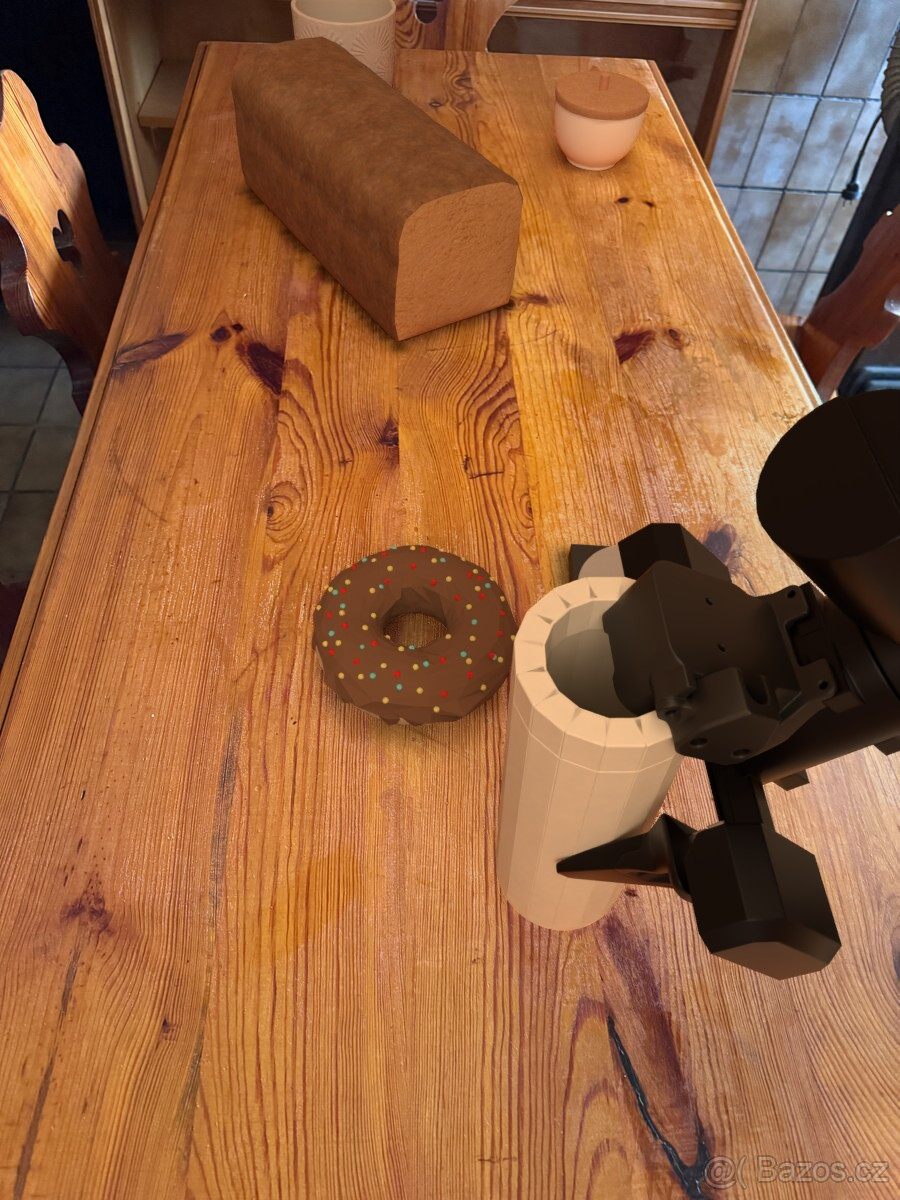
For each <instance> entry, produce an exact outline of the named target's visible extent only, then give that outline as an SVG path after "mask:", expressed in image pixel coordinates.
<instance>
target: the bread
mask: <svg viewBox="0 0 900 1200" xmlns="http://www.w3.org/2000/svg"><path fill="white" fill-rule="evenodd" d="M230 84H231V85H230V89H231V95H232V100H233V105H234V115H235V127H236V128H235V129H236V138H237V144H238V153H239V158H240V166H241V172H242V176H243V179H244V182H245V184H246V186H247V187H248V188H249V189H250V190H251V192H253V193H254V195H255V196H256V197H257V198H258V199H259V200H260V201H261V202H262V203H263V204H264V205H265V207H266V208H268V210H269V211H271V212H272V213H273V215H275V217H276V218H277V219H278V220H279V221H280V222H281V223H282V224H283V225H284V226H285V227H286V228H287V230H289V232H290V233H291V234H292V235H293V236H294V237H295V238H296V240H297V241H299V242H300V244H301V245H302V246H303V247H304V248H305V249H306V250H307V251H308V252H309V253H310V254H312V256H313V257H314V258H315V259H316V260H317V261H318V262H319V263H320V264H321V266H322V268H324V269H325V270H326V271H327V272H328V273H329V275H330V276H332V278H334V280H335V281H336V282H337V283H338V284H339V285H340V286H341V287H342V288H343V289H344V290H345V291H346V292H347V293H348V294H349V295H350V296H351V297H352V298H353V299H354V300H355V301H356V302H357V303H358V304H359V305H360V306H361V308H363V309H364V311H365V312H366V313H367V314H368V315H369V316H370V318H372V319H373V321H375V323H376V324H378V326H379V327H381V329H382V330H383V331H384V332H385V333H386V334H388V335H389V336H390V337H391V338H392V339H393V340H394V341H395V342H401V341H403V340H408V339H411V338H414V337H417V336H420V335H423V334H425V333H428V332H431V331H434V330H437V329H440V328H442V327H446V326H449V325H452V324H454V323H457V322H461V321H464V320H467V319H469V318H472V317H475V316H478V315H482V314H484V313H487V312H490V311H492V310H495V309H498V308H500V307H504V306H506V305H508V304H509V303H510V298H511V294H512V291H513V288H514V281H515V273H516V267H517V266H516V265H517V257H518V250H519V243H520V241H519V240H520V230H521V219H522V211H523V206H524V205H523V204H524V196H523V194H522V190H521V187H520V184H519V181H517V180H516V179H515V178H514V177H513V176H511V175H510V174H508V173H507V172H505V171H504V170H503V169H501V168H500V167H498V166H497V165H495V164H494V163H493V162H492V161H490V160H489V159H487V158H486V157H485V156H484V155H483V154H481V153H480V152H479V151H478V150H476V149H474V148H473V147H472V146H470V145H469V144H468V143H466V142H464V140H462V139H460V138H459V137H458V136H457V135H456V134H455V133H453V132H452V131H451V130H450V129H448V128H446V127H445V126H444V125H442V124H441V123H439V122H437V121H436V120H435V119H434V118H432V116H430V115H429V114H428V113H427V112H426V111H424V110H423V109H422V108H421V107H420V106H418V105H417V104H415V103H414V102H413V101H411V100H410V99H409V98H407V97H405V96H404V95H403V94H401V92H399V91H398V90H396V89H395V88H394V87H393V86H392V87H391V86H390V85H389V84H388V83H387V82H385V81H384V80H383V79H382V78H381V77H379V76H378V75H377V74H376V73H375V72H373V71H372V70H371V69H370V68H368V67H367V66H366V65H364V64H363V63H362V62H360V61H359V60H358V59H357V58H355V57H354V56H353V55H352V54H351V53H349V52H348V51H347V50H346V49H345V48H343V47H342V46H340V45H339V44H338V43H335V42H333V41H331V40H329V39H326V38H324V37H313V38H304V39H298V40H295V39H291V40H285V41H281V42H276V43H271V44H267V45H263V46H259V47H256V48H254V49H250V50H247V51H244V52H243V54H242V55H241V56H240V57H239V58H238V60H237V61H236V63H235V64H234V66H232V76H231V83H230Z"/></svg>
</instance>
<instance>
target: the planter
mask: <svg viewBox="0 0 900 1200" xmlns="http://www.w3.org/2000/svg"><path fill="white" fill-rule="evenodd" d="M290 9H291V19H292V27H293V36H294V40H298V39H304V38H313V37H324V38H326V39H329V40H331V41H333V42H335V43H338V44H339V45H340V46H342V47H343V48H345V49H346V50H347V51H348V52H349V53H351V54H352V55H353V56H354V57H355V58H357V59H358V60H359V61H360V62H362V63H363V64H364V65H366V66H367V67H368V68H370V69H371V70H372V71H373V72H375V73H376V74H377V75H378V76H379V77H381V78H382V79H383V80H384V81H385V82H387V83H388V84H389V85H390V86H391V87H392V88H393V82H394V72H395V61H396V60H395V57H396V32H397V31H396V29H397V28H396V27H397V22H396V21H397V4H396V2H395V1H394V0H291V2H290Z"/></svg>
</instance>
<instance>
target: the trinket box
mask: <svg viewBox="0 0 900 1200" xmlns="http://www.w3.org/2000/svg"><path fill="white" fill-rule="evenodd" d="M650 98H651V96H650V93H649V91H648V88H646V86H645V85H644V84H643V83H642V82H639V81H637V80H636V79H635V78H632V77H629V76H627V75H623V74H620V73H617V72H611V71H605V70H584V71H583V70H582V71H577V72H571V73H569V74H566V75H564V76H563V77H562V78H560V79H559V80H558V82H557V83H556V85H555V90H554V106H553V129H554V130H553V131H554V135H555V139H556V142H557V144H558V147H559V148H560V150H561V151H562V153H563V154H564V155H565V158H566V160H567V161H568V163H569V164H571V165H572V166H574V167H576V168H579V169H582V170H587V171H592V172H593V171H594V172H595V171H596V172H597V171H599V172H600V171H606V170H609V169H612V168H613V167H614V166H615V165H616V164H617V163H618V162H619V161H621V160H622V159H623V158H625V157H626V156H627V154H628V153H630V151H632V148H633V147H634V145H635V144H636V142H637V140H638V137H639V136H640V133H641V131H642V127H643V124H644V120H645V116H646V111H647V109H648V107H649V101H650Z"/></svg>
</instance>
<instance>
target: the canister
mask: <svg viewBox="0 0 900 1200" xmlns="http://www.w3.org/2000/svg"><path fill="white" fill-rule="evenodd" d="M635 581H636V580H633V579H630V578H627V577H623V578H622V577H584V578H581V579H578V580H575V581H572V582H570V583H569V582H567V583H563V584H561V585H558V586H555V587H553V588H552V589H551V590H549V591H548V592H546V594H544V595H543V596H542V598H540V599H539V600H538V601H536V602H535V604H533V605H532V606H531V607H530V608H529V609H528V610H527V611H526V612H525V614H524V617H523V618H522V621H521V623H520V625H519V627H518V629H519V630H518V632H517V634H516V637H515V639H514V646H513V657H512V664H511V668H510V669H511V670H510V681H509V692H508V693H509V694H508V703H507V704H508V706H507V714H506V715H507V717H506V726H505V728H506V729H505V740H504V752H503V763H502V774H501V784H500V786H501V787H500V798H499V809H498V818H497V819H498V820H497V821H498V822H497V830H496V831H497V832H496V844H495V871H496V878H497V881H498V885H499V887H500V890H501V893H502V894H503V896H504V898H505V899H506V901H507V903H509V905H510V906H511V907H512V908H513V909H514V910H515V911H516V912H517V913H518V914H519V915H520V916H521V917H522V918H524V919H525V920H527V921H529V923H532V924H533V925H537V926H538V927H541V928H545V929H547V930H553V931H563V932H564V931H574V930H580V929H583V928H585V927H588V926H590V925H592V924H594V923H596V922H597V921H599V920H600V919H602V918H603V917H604V916H605V915H606V914H607V913H608V912H609V911H610V910H611V909H612V907H613V906H614V905H615V903H616V902H617V901H618V899H619V897H620V895H621V894H622V891H623V889H624V887H625V885H626V884H625V883H615V882H604V881H594V880H583V879H573V878H568V877H565V876H563V875H560V874H558V873H557V872H556V864H557V863H558V862H560V861H562V860H564V859H566V858H568V857H570V856H572V855H575V854H578V853H580V852H583V851H586V850H589V849H592V848H596V847H599V846H602V845H606V844H609V843H613V842H616V841H619V840H623V839H626V838H629V837H633V836H636V835H640V834H643V833H646V832H648V831H649V830H650V829H651V828H652V826H653V825H654V824H655V822H656V821H655V820H657V817H658V815H659V812H660V810H661V808H662V806H663V804H664V802H665V800H666V797H667V795H668V793H669V791H670V790H671V789H670V788H671V787H672V785H673V782H674V780H675V778H676V776H677V774H678V772H679V770H680V767H681V766H682V763H683V761H684V759H685V757H686V756H683V755H680V754H678V753H677V752H676V751H675V747H674V743H673V738H672V733H671V730H670V727H669V725H668V723H667V722H665V721H663V720H661V719H659V718H658V717H657V713H656V710H654V711H652V712H649V713H647V714H644V715H642V716H637V715H635V714H633V713H632V712H630V711H629V710H628V709H626V708H625V707H624V706H623V704H622V703H621V702H620V700H619V699H618V697H617V695H616V692H615V689H614V685H613V679H612V677H613V674H614V664H613V658H612V653H611V647H610V642H609V636H608V634H607V633H605V632H604V629H603V623H602V616H603V613H605V612H606V611H607V610H608V609H609V608H610V607H611V606H612V605H613V604H614V603H615V602H617V601H618V599H619V598H620V596H621V595H622V594H623V593H624V592H625V591H626V590H627V589H628V588H629V587H630V586H631V585H632V584H633V583H634V582H635ZM686 699H687V698H686Z"/></svg>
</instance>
